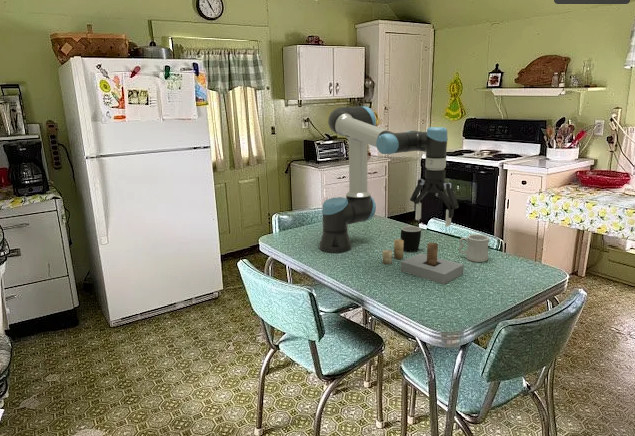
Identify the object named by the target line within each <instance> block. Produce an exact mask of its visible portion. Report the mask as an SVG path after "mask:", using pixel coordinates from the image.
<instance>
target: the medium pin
mask: <svg viewBox="0 0 635 436" xmlns="http://www.w3.org/2000/svg"><path fill="white" fill-rule="evenodd" d="M393 244H394V246H393V252H394V253H393V259H395V260H403V259H404V250H403V247H404V240H401V238H397V239H394V241H393Z"/></svg>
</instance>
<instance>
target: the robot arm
mask: <svg viewBox="0 0 635 436" xmlns="http://www.w3.org/2000/svg"><path fill="white" fill-rule="evenodd" d="M327 122H328V124H327V125H328V127H329V129H330V130H331V131H332V132H333V133H334V134H336V135H338V136H342V137H345V138H346V139H347V140H348V182H349V185H348V186H349V191H348V192H347V193H346V195H345V196H346V197H344V196H337V197H331V198H328V199H326V200H325V201H324V202H323V203H322V208H321V209H322V210H321V212H322V235H321V238H320V241H319V250H321V251H323V252H326V253H331V254H333V253H335V254H337V253H338V254H339V253H344V252H349V251H350V250H351V249H352V241H351V238H350V236H349V232H348V230H349V228H348V227H349V225H352V224H357V223H363V222H366V221H369V220H371V219H372V218H373V217H374V216H375V214H376V210H377V209H376V207H377V205H376V202H375V199H374V198H373V196H371V192H369V191H368V145H369V146H372V147H375V148H376V150H378V152H379V153H380V154H381V155H393V154H399V153H408V152H409V153H410V152H425V165H424V166H425V168H426V169H425V170H424V178H425V179H424V178H420V179H417V185H416V187H415V189H414V190H413V192H412V194H411V197H410V199H409V201H410V202H413V203H414V206H413V209H414V211H415V220H416V221H418V220H421V219H422V200H423V199H424V197H426V195H427V194H428V193H430V194H431V193H433V194H437V195H439V196H440V198H441V200H442V201H443V203H444V204H445V206H446V207H447V209H446V210H445V227H450V226H452V218H454V213H455V209H459V207H460V204H459V202H458V199H457V198H456V195H455V192H454V188H453V183H452V182H448V183H446V182H445V179H446V169H445V168H447V167H446V166H447V150H448V149H447V148H448V129H447V128H446V127H444V126H443V127H442V126H432V127H431V126H430V127H428V128H427V129H426V131H417V130H407V131H405V132H392V131H390V130H388V129H385V128H381V127H378V126H376V125H377V119H376V114H375V112H374V111H373V110H372V109H371V108H370V107H368V106H364V105H363V106H362V105H359V106H340V107H337V108H334V110H332V111H331V112H330V114H329V116H328V121H327ZM424 186H425V187H424ZM423 187H424V189H423ZM422 189H423V190H422ZM421 190H422V191H421Z"/></svg>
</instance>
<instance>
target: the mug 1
mask: <svg viewBox="0 0 635 436" xmlns="http://www.w3.org/2000/svg"><path fill="white" fill-rule="evenodd" d="M421 237H422V228H420V226H419V227H418V226H413V225H412V226H411V225H408V226H407V225H406V226H403V227H401V228H400V239H401V240H404V247H403V252H404V251H405V252H409V253H414V252H415V253H416V252H417V251H418V250H419V248H420V245H421Z"/></svg>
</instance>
